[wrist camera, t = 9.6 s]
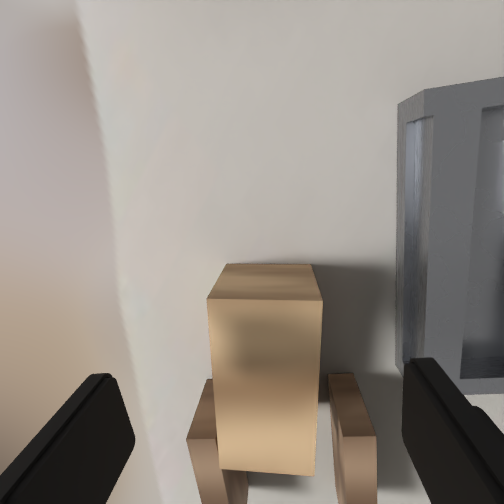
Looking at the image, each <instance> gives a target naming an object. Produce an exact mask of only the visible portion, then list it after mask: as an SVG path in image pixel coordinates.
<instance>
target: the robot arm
mask: <svg viewBox="0 0 504 504" xmlns="http://www.w3.org/2000/svg"><path fill="white" fill-rule="evenodd" d="M402 437H403V441H404V444H405V446H406V448H407V451H408V453H409V455H410V457H411V460H412V462H413V464H414V466H415V468H416V471H417V473H418V475H419V477H420V479H421V482H422V484H423V486H424V488H425V491H426V493H427V495H428V497H429V499H430V502H431V504H504V434H503V433H502V432H501V431H500V429H499V428H498V427H497V426H496V425H495V423H494V422H493V421H492V420H491V419H490V417H489V416H488V415H487V414H486V413H485V412H484V411H483V410H482V409H481V408H479V407H477V406H472V405H471V404H470V403H469V401H468V400H467V399H466V398H465V396H464V395H463V394H462V393H461V391H460V390H459V389H458V388H457V386H456V385H455V384H454V383H453V381H452V380H451V379H450V378H449V376H448V375H447V374H446V373H445V371H444V370H443V369H442V368H441V366H440V365H439V364H438V363H437V361H436V360H435V359H434V358H432V357H425V358H411V359H410V362H409V364H405V365H404V376H403V407H402ZM134 445H135V435H134V432H133V429H132V426H131V423H130V420H129V417H128V414H127V411H126V408H125V404H124V402H123V398H122V396H121V392H120V389H119V386H118V384H117V381H116V379H115V378H113V377H112V375H111V374H109V373H101V374H91V375H90V376H89V377H88V378H87V379H86V380H85V381H84V382H83V383H82V384H81V385H80V386H79V388H78V389H77V390H76V391H75V392H74V393H73V394H72V395H71V397H70V398H69V399H68V400H67V401H66V402H65V404H63V406H62V407H61V408H60V409H59V410H58V411H57V412H56V413H55V415H54V416H53V417H52V418H51V419H50V420H49V421H48V422H47V424H46V425H45V426H44V427H43V428H42V429H41V430H40V432H39V433H38V434H37V435H36V436H35V437H34V438H33V439H32V440H31V442H30V443H29V444H28V445H27V446H26V447H25V448H24V450H23V451H22V452H21V453H20V454H19V455H18V456H17V457H16V458H15V460H14V461H13V462H12V463H11V464H10V465H9V466H8V468H7V469H6V470H5V471H4V472H3V473H2V474H1V475H0V504H106V502H107V500H108V498H109V496H110V494H111V492H112V490H113V488H114V486H115V484H116V482H117V480H118V478H119V476H120V474H121V472H122V470H123V468H124V466H125V464H126V462H127V460H128V459H129V456H130V455H131V452H132V451H133V448H134Z"/></svg>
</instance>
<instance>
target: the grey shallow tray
mask: <svg viewBox="0 0 504 504" xmlns="http://www.w3.org/2000/svg"><path fill="white" fill-rule="evenodd" d="M425 357H432V358H434V359H435V360H436V361H437V363H438V364H439V365H440V366H441V368H442V369H443V370H444V371H445V373H446V374H447V375H448V376H449V378H450V379H451V380H452V381H453V383H454V384H455V385H456V386H457V388H458V389H459V390H460V391H461V393H462V394H463V395H473V394H504V77H499V78H493V79H487V80H480V81H474V82H468V83H462V84H455V85H449V86H443V87H437V88H431V89H424V90H423V91H421V92H419V93H417V94H415V95H414V96H412V97H410V98H408V99H406V100H405V101H403V102H401V103H399V104H398V138H397V245H396V353H395V365H396V366H397V368H398V370H399V371H400V373H401V375H402V376H404V365H405V364H409V362H410V359H411V358H425Z"/></svg>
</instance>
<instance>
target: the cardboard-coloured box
mask: <svg viewBox="0 0 504 504" xmlns="http://www.w3.org/2000/svg"><path fill="white" fill-rule="evenodd" d="M322 309H323V300H322V297H321V294H320V291H319V288H318V285H317V282H316V279H315V276H314V273H313V270H312V267H311V264H226V266H225V267H224V269H223V271H222V273H221V274H220V276H219V278H218V280H217V281H216V283H215V285H214V287H213V288H212V290H211V292H210V294H209V295H208V297H207V311H208V324H209V337H210V350H211V363H212V376H213V389H214V402H215V415H216V428H217V441H218V454H219V467H220V469H228V470H240V471H253V472H266V473H278V474H291V475H303V476H314V471H315V450H316V430H317V410H318V390H319V370H320V349H321V329H322Z"/></svg>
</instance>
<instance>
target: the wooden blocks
mask: <svg viewBox="0 0 504 504" xmlns="http://www.w3.org/2000/svg"><path fill="white" fill-rule="evenodd" d="M328 383H329V397H330V412H331V427H332V442H333V457H334V472H335V486H336V492H337V498H338V503H339V504H377V446H376V434H375V431H374V428H373V426H372V423H371V420H370V418H369V415H368V412H367V409H366V407H365V404H364V401H363V399H362V396H361V393H360V390H359V388H358V385H357V382H356V379H355V377H354V374H353V373H344V374H328ZM186 441H187V445H188V449H189V453H190V457H191V461H192V465H193V469H194V473H195V477H196V482H197V486H198V490H199V494H200V498H201V502H202V504H247V498H248V488H249V485H248V479H247V474H246V471H240V470H228V469H220V467H219V454H218V441H217V428H216V415H215V402H214V389H213V379H207V380H206V383H205V386H204V389H203V392H202V395H201V398H200V401H199V404H198V406H197V409H196V412H195V415H194V418H193V421H192V424H191V427H190V430H189V433H188V435H187V438H186Z"/></svg>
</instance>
